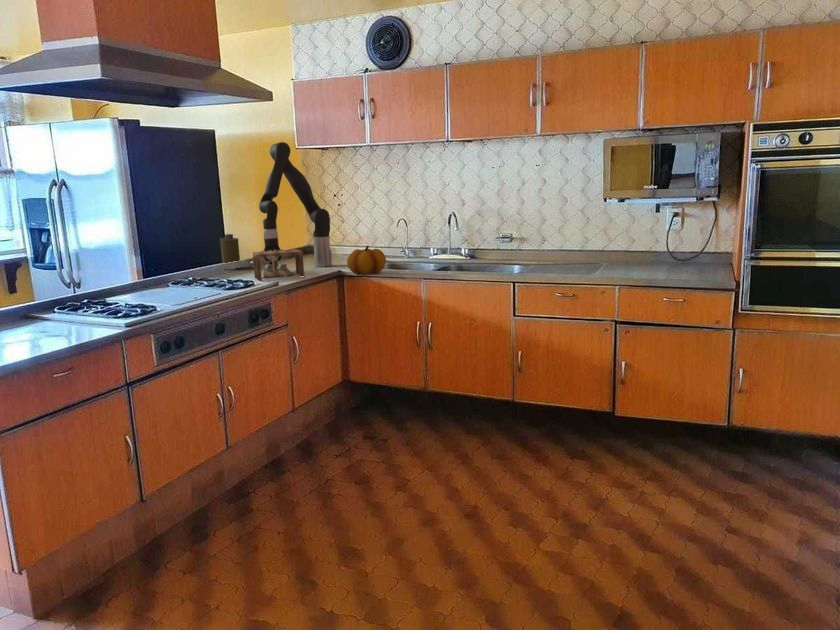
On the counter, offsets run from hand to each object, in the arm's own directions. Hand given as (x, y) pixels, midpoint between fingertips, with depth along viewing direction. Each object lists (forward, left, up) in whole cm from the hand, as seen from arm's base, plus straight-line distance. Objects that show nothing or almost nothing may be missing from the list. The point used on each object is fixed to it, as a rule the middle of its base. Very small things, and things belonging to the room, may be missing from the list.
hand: (273, 268), depth 367 cm
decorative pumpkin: (-45, +32, -2) cm, 55 cm away
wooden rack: (0, +21, -2) cm, 21 cm away
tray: (0, +7, -2) cm, 7 cm away
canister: (+20, -28, -2) cm, 35 cm away
